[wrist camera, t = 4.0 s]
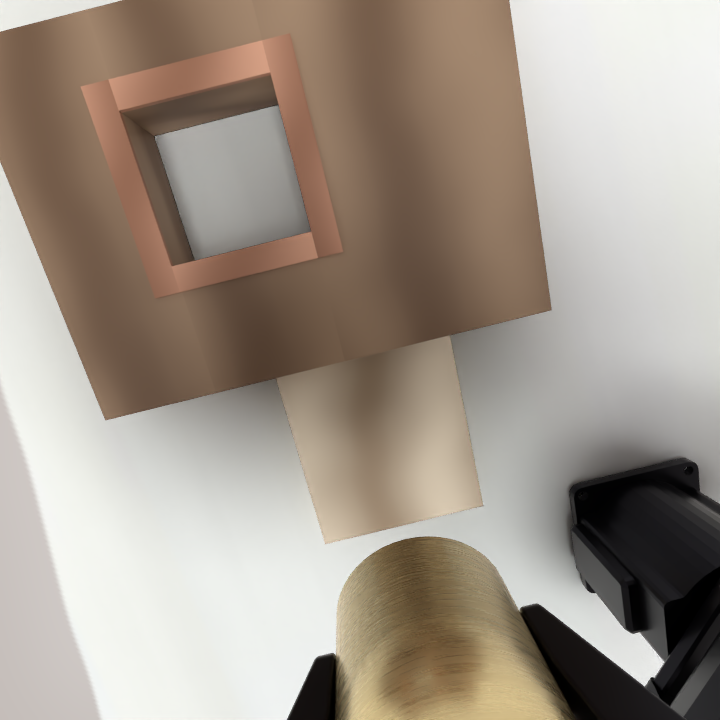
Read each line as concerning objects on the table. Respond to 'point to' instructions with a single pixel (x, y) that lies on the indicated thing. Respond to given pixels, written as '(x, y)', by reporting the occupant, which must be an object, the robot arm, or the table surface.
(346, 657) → the brass peg
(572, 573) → the table surface
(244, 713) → the table surface
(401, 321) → the walnut board
